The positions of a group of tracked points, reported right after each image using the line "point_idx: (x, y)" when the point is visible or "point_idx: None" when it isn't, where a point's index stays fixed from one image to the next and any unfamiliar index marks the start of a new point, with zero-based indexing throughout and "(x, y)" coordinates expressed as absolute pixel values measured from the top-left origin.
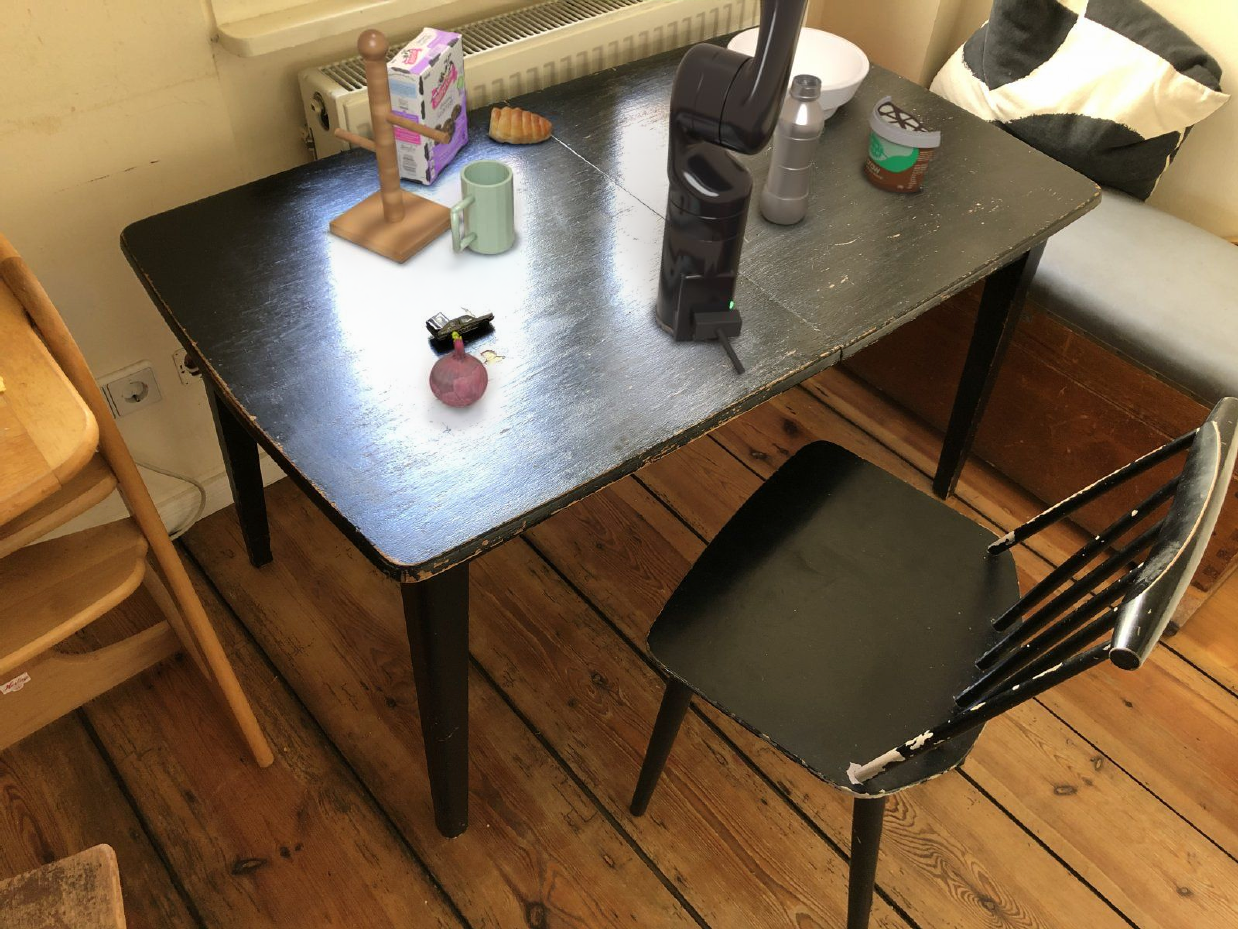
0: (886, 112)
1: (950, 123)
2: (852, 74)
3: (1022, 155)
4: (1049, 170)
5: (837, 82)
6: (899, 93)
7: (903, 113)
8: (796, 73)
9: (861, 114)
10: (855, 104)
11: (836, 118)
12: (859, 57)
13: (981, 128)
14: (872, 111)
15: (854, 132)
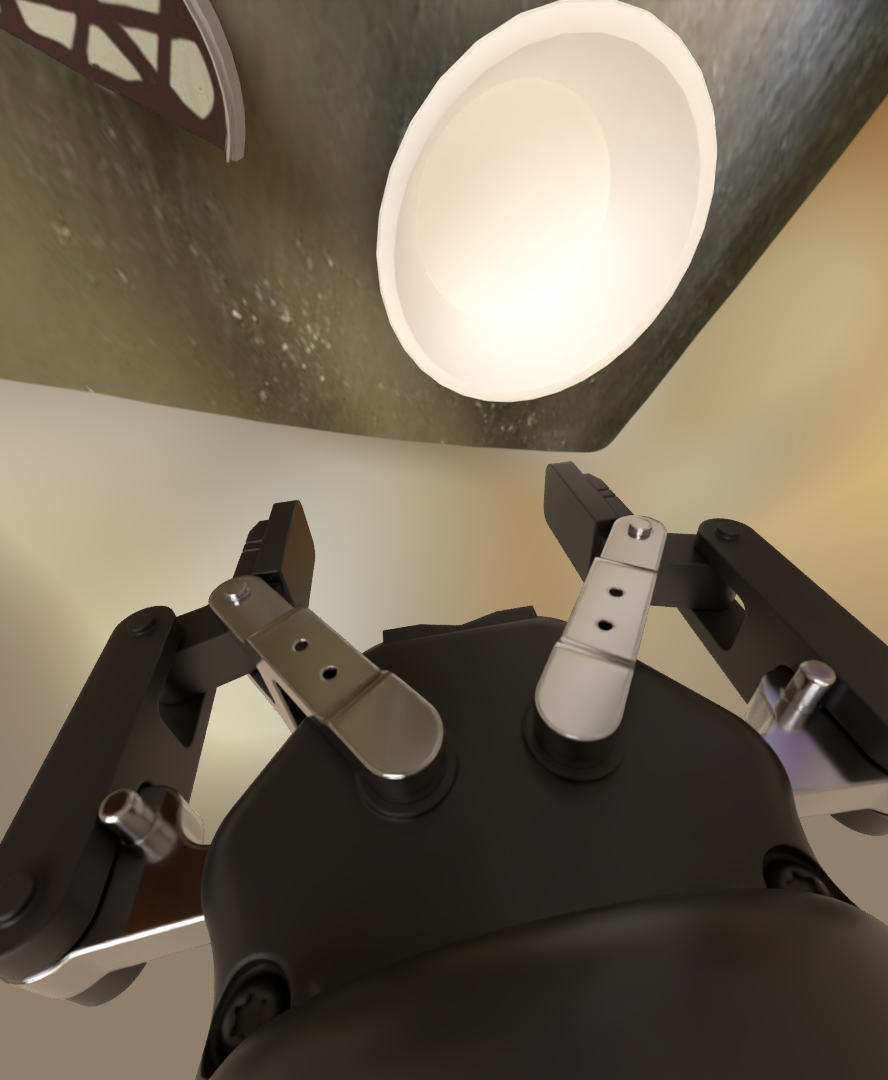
0: (170, 44)
1: (250, 381)
2: (427, 326)
3: (84, 371)
4: (5, 357)
5: (453, 325)
6: (371, 407)
7: (130, 82)
8: (534, 319)
9: (380, 295)
10: None
11: None
12: (431, 358)
13: (205, 402)
14: (210, 20)
15: (349, 207)
